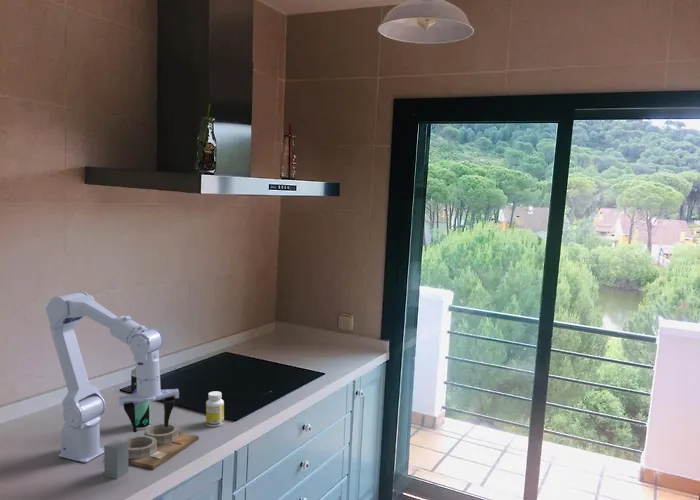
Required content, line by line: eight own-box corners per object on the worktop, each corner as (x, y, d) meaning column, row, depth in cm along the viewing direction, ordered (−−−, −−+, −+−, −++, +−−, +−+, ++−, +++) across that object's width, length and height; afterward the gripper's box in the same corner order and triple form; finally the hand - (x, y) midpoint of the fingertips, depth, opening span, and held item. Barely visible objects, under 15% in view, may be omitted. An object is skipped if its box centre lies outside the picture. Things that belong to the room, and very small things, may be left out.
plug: (104, 475, 147) (104, 445, 146) (115, 468, 151) (115, 439, 150) (117, 479, 146) (117, 448, 145) (128, 472, 150) (128, 442, 149)
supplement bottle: (216, 418, 185) (216, 389, 184) (227, 423, 182) (227, 393, 181) (202, 423, 181) (202, 393, 180) (213, 428, 178) (213, 397, 177)
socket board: (110, 459, 156) (110, 446, 156) (158, 431, 175) (158, 419, 174) (153, 469, 151) (153, 456, 151) (198, 439, 170) (198, 427, 170)
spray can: (130, 424, 179) (130, 360, 177) (149, 421, 181) (149, 359, 179) (131, 431, 174) (131, 366, 172) (151, 428, 176) (151, 364, 174)
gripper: (118, 385, 143) (121, 439, 144) (179, 377, 148) (181, 429, 150) (117, 377, 149) (120, 429, 150) (176, 370, 155) (178, 419, 156)
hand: (150, 428), depth 150 cm, fingers open, 7 cm apart
